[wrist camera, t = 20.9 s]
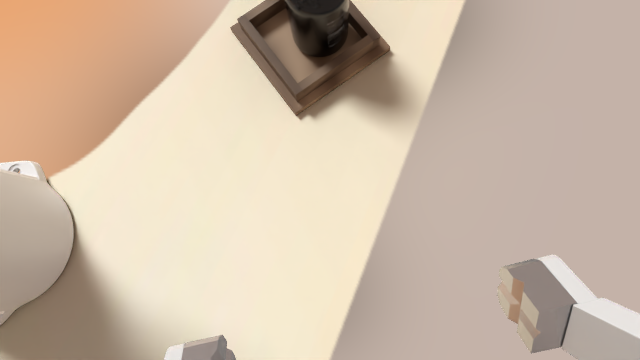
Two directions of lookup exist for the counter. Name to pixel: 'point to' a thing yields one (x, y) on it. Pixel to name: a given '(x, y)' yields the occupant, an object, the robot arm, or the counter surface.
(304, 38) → the supplement bottle
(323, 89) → the walnut tray
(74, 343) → the counter surface
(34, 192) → the robot arm
